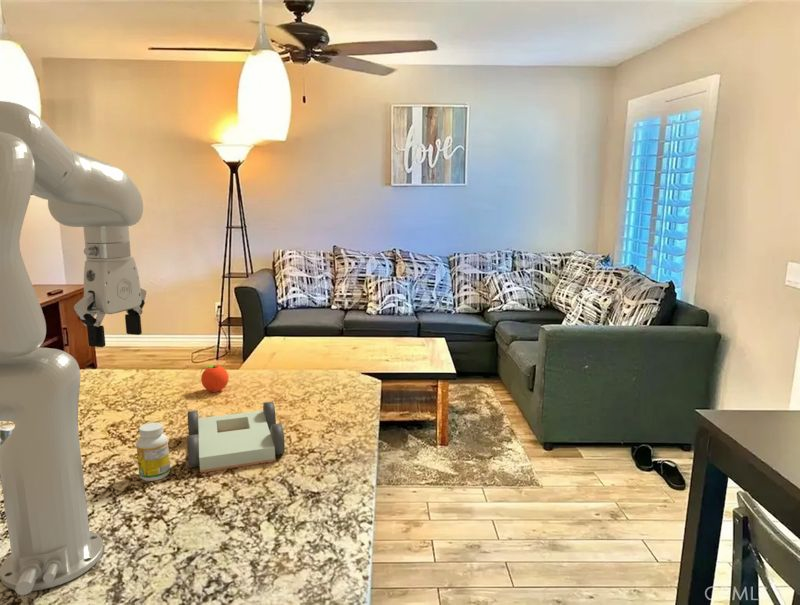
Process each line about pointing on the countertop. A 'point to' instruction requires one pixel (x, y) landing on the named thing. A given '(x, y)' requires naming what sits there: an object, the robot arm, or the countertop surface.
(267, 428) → the chassis
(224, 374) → the tomato
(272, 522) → the countertop surface
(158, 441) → the supplement bottle
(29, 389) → the robot arm
